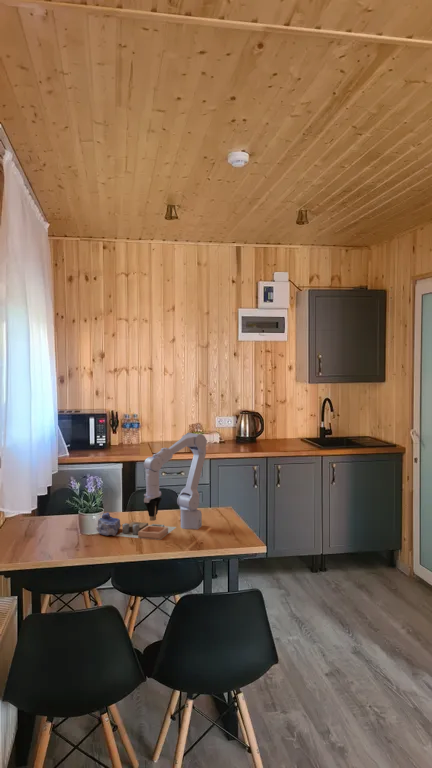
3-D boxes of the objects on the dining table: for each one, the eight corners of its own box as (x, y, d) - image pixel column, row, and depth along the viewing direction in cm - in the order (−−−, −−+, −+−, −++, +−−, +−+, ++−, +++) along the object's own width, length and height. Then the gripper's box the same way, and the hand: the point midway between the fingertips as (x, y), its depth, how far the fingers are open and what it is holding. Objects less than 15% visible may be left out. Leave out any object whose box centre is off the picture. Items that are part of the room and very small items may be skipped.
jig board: (176, 528, 258) (176, 518, 258) (160, 541, 239) (160, 530, 239) (135, 525, 264) (135, 515, 264) (115, 537, 245) (115, 526, 245)
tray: (168, 532, 249) (168, 527, 249) (159, 539, 240) (159, 533, 240) (147, 531, 252) (147, 525, 252) (138, 537, 243) (138, 531, 243)
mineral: (98, 510, 257) (119, 508, 258) (99, 530, 258) (121, 528, 259) (93, 522, 243) (116, 520, 243) (95, 543, 244) (118, 541, 245)
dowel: (157, 519, 247) (156, 503, 247) (154, 520, 244) (154, 504, 244) (151, 518, 248) (151, 503, 247) (148, 520, 245) (148, 504, 245)
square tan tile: (148, 528, 257) (148, 523, 256) (140, 533, 249) (140, 527, 249) (132, 527, 259) (132, 521, 259) (124, 532, 251) (124, 526, 251)
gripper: (150, 481, 254) (151, 510, 254) (137, 487, 240) (137, 518, 240) (165, 481, 252) (165, 511, 252) (152, 488, 238) (152, 520, 238)
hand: (153, 515), depth 246 cm, fingers closed on dowel, 3 cm apart
